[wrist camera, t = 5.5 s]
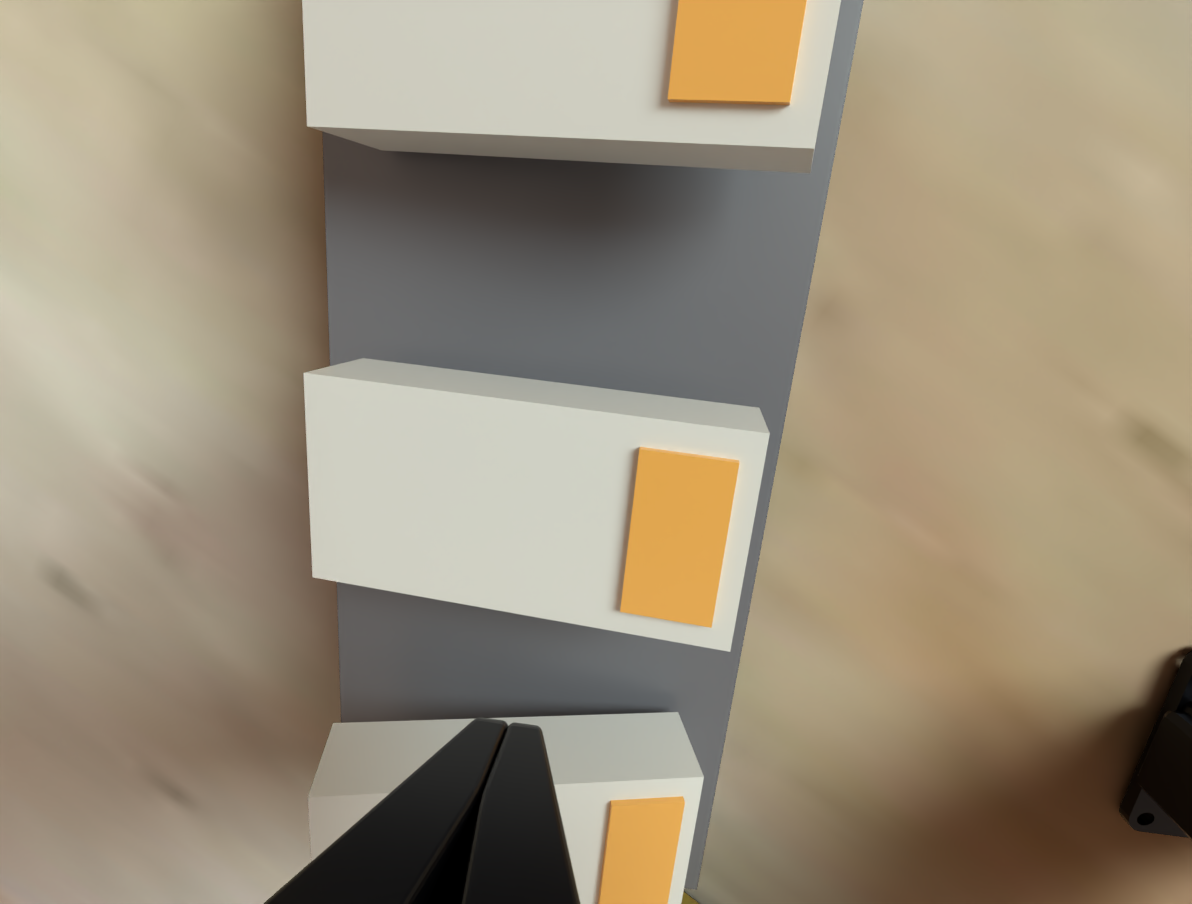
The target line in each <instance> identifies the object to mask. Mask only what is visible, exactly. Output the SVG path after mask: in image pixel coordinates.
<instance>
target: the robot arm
mask: <svg viewBox="0 0 1192 904" xmlns="http://www.w3.org/2000/svg"><path fill="white" fill-rule="evenodd" d="M1119 812H1120V814H1121V816H1122V817H1123V819H1124V820H1125V821H1126V822H1127V823H1128V824H1129V825H1130V826H1131V827H1132V828H1133V829H1134V830H1137V831H1141V832H1149V833H1157V834H1164V835H1172V836H1179V837H1187V838H1190V839H1191V840H1192V651H1191V652H1190V653H1188V654H1187V655H1186V656H1185V658H1184V659H1183V661H1182V663H1181V666H1180V668H1179V670H1178V673H1177V675H1176V677H1175V680H1174V682H1173V684H1172V687H1171V689H1170V691H1169V694H1168V696H1167V698H1166V701H1165V703H1164V705H1163V708H1162V710H1161V712H1160V715H1159V717H1158V719H1157V722H1156V724H1155V726H1154V728H1153V731H1152V733H1151V735H1150V738H1149V740H1148V742H1147V745H1146V747H1145V749H1144V752H1143V754H1142V756H1141V759H1140V761H1139V763H1138V766H1137V768H1136V770H1135V773H1134V775H1133V777H1132V780H1131V782H1130V784H1129V787H1128V789H1127V791H1126V794H1125V796H1124V798H1123V801H1122V803H1121V805H1120V809H1119ZM264 904H580V900H579V895H578V890H577V886H576V881H575V877H574V872H573V868H572V863H571V859H570V854H569V850H568V845H567V841H566V836H565V832H564V827H563V822H562V818H561V813H560V809H559V804H558V800H557V795H556V791H555V786H554V782H553V777H552V773H551V768H550V764H549V759H548V754H547V750H546V745H545V741H544V736H543V732H542V729H541V728H540V727H539V726H537V725H530V724H524V723H517V722H513V723H511V724H510V725H509V726H508V724H507V723H506V722H505V721H503V720H496V719H489V718H483V717H479V718H476V719H474V720H473V721H472V722H470V723H469V724H468V725H467V726H466V727H465V728H464V729H462V730H461V731H460V732H459V733H458V734H457V735H456V736H454V737H453V738H452V739H451V740H450V741H449V742H448V743H446V744H445V745H444V746H443V747H442V748H441V749H440V750H438V751H437V752H436V753H435V754H434V755H433V756H432V757H430V758H429V759H428V760H427V761H426V762H425V763H424V764H422V765H421V766H420V767H419V768H418V769H417V770H416V771H414V772H413V773H412V774H411V775H410V776H409V777H408V778H406V779H405V780H404V781H403V782H402V783H401V784H400V785H398V786H397V787H396V788H395V789H394V790H393V791H392V792H390V793H389V794H388V795H387V796H386V797H385V798H384V799H382V800H381V801H380V802H379V803H378V804H377V805H376V806H374V807H373V808H372V809H371V810H370V811H369V812H368V813H366V814H365V815H364V816H363V817H362V818H361V819H360V820H358V821H357V822H356V823H355V824H354V825H353V826H352V827H350V828H349V829H348V830H347V831H346V832H345V833H344V834H342V835H341V836H340V837H339V838H338V839H337V840H336V841H334V842H333V843H332V844H331V845H330V846H329V847H328V848H327V849H325V850H324V851H323V852H322V853H321V854H320V855H319V856H317V857H316V858H315V859H314V860H313V861H312V862H311V863H309V864H308V865H307V866H306V867H305V868H304V869H303V870H301V871H300V872H299V873H298V874H297V875H296V876H295V877H293V878H292V879H291V880H290V881H289V882H288V883H287V884H285V885H284V886H283V887H282V888H281V889H280V890H279V891H277V892H276V893H275V894H274V895H273V896H272V897H271V898H269V899H268V900H267V901H266V902H265V903H264Z"/></svg>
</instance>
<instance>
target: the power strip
mask: <svg viewBox="0 0 1192 904" xmlns="http://www.w3.org/2000/svg"><path fill="white" fill-rule="evenodd" d="M863 1H864V0H841V4H840V9H839V15H838V20H837V26H836V32H835V37H834V43H833V48H832V54H831V60H830V65H829V71H828V76H827V82H826V88H825V93H824V99H823V104H822V110H821V116H820V121H819V127H818V132H817V138H816V144H815V149H814V155H813V160H812V166H811V172H810V173H793V172H775V171H756V170H737V169H719V168H700V167H682V166H663V165H644V164H626V163H607V162H589V161H570V160H551V159H533V158H514V157H496V156H477V155H458V154H440V153H421V152H403V151H384V150H379V149H376V148H373V147H369V146H366V145H363V144H360V143H357V142H354V141H351V140H348V139H345V138H342V137H338V136H335V135H332V134H329V133H326V132H323V161H324V192H325V224H326V256H327V287H328V319H329V351H330V366H333V365H337V364H341V363H345V362H350V361H354V360H358V359H362V358H366V359H374V360H382V361H390V362H398V363H406V364H414V365H422V366H430V367H438V368H446V369H454V370H462V371H470V372H478V373H486V374H494V375H502V376H510V377H518V378H526V379H534V380H542V381H550V382H558V383H566V384H574V385H582V386H590V387H598V388H606V389H614V390H622V391H630V392H638V393H646V394H654V395H662V396H670V397H678V398H686V399H694V400H702V401H710V402H718V403H726V404H734V405H742V406H750V407H758V408H760V410H761V413H762V415H763V418H764V420H765V423H766V425H767V428H768V430H769V433H770V435H769V441H768V446H767V452H766V457H765V463H764V468H763V474H762V479H761V485H760V491H759V496H758V502H757V507H756V513H755V518H754V524H753V529H752V535H751V540H750V546H749V551H748V557H747V562H746V568H745V573H744V579H743V584H742V590H741V595H740V601H739V606H738V612H737V617H736V623H735V628H734V634H733V639H732V645H731V650H730V652H728V651H723V650H717V649H711V648H706V647H700V646H695V645H689V644H683V643H678V642H672V641H667V640H661V639H655V638H650V637H644V636H639V635H633V634H627V633H622V632H616V631H610V630H605V629H599V628H594V627H588V626H582V625H577V624H571V623H566V622H560V621H554V620H549V619H543V618H538V617H532V616H526V615H521V614H515V613H510V612H504V611H498V610H493V609H487V608H482V607H476V606H470V605H465V604H459V603H454V602H448V601H442V600H437V599H431V598H426V597H420V596H414V595H409V594H403V593H398V592H392V591H386V590H381V589H375V588H370V587H364V586H358V585H353V584H347V583H341V582H337V604H338V635H339V667H340V699H341V723H351V722H382V721H413V720H445V719H476V718H479V717H483V718H508V717H539V716H570V715H602V714H633V713H664V712H678V713H679V716H680V718H681V721H682V723H683V726H684V728H685V731H686V733H687V736H688V738H689V741H690V743H691V746H692V748H693V751H694V753H695V756H696V758H697V761H698V763H699V766H700V768H701V771H702V773H703V776H704V780H703V785H702V791H701V796H700V802H699V808H698V813H697V819H696V824H695V830H694V835H693V841H692V847H691V852H690V858H689V863H688V869H687V874H686V880H685V886H684V888H689V889H696V890H697V885H698V880H699V875H700V870H701V864H702V859H703V854H704V848H705V843H706V838H707V832H708V827H709V822H710V816H711V811H712V806H713V800H714V795H715V790H716V784H717V779H718V774H719V768H720V763H721V758H722V752H723V747H724V742H725V736H726V731H727V726H728V720H729V715H730V710H731V704H732V699H733V694H734V688H735V683H736V678H737V672H738V667H739V662H740V656H741V651H742V646H743V640H744V635H745V630H746V624H747V619H748V614H749V608H750V603H751V598H752V592H753V587H754V582H755V576H756V571H757V566H758V560H759V555H760V550H761V544H762V539H763V534H764V528H765V523H766V518H767V512H768V507H769V502H770V496H771V491H772V486H773V480H774V475H775V470H776V465H777V459H778V454H779V449H780V443H781V438H782V433H783V427H784V422H785V417H786V411H787V406H788V401H789V395H790V390H791V385H792V379H793V374H794V369H795V363H796V358H797V353H798V347H799V342H800V337H801V331H802V326H803V321H804V315H805V310H806V305H807V299H808V294H809V289H810V283H811V278H812V273H813V267H814V262H815V257H816V251H817V246H818V241H819V235H820V230H821V225H822V219H823V214H824V209H825V203H826V198H827V193H828V187H829V182H830V177H831V171H832V166H833V161H834V155H835V150H836V145H837V139H838V134H839V129H840V123H841V118H842V113H843V107H844V102H845V97H846V91H847V86H848V81H849V75H850V70H851V65H852V60H853V54H854V49H855V44H856V38H857V33H858V28H859V22H860V17H861V12H862V6H863Z"/></svg>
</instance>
